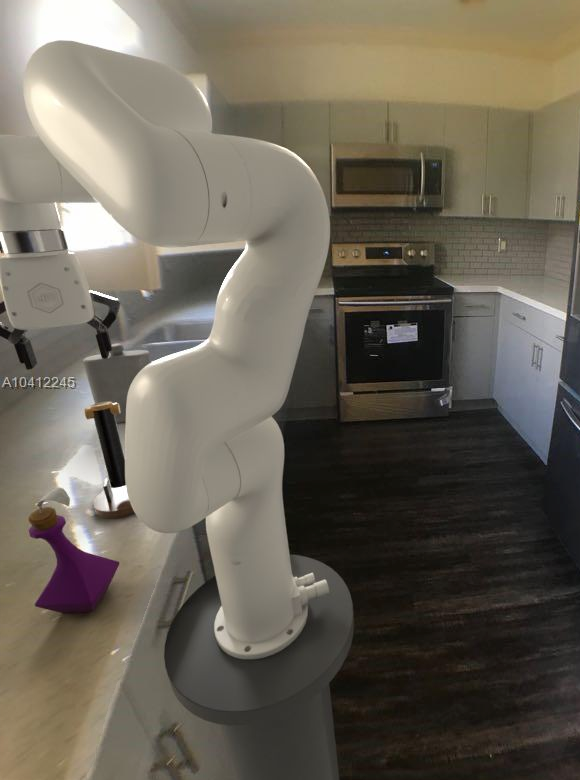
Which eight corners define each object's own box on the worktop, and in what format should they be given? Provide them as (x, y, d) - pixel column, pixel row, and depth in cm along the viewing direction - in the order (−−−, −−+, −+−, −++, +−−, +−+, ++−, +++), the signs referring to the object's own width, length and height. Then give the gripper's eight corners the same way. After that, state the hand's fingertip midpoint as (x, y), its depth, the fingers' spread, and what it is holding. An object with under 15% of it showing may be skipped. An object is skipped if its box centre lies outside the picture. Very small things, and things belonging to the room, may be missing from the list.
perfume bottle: (41, 624, 61) (-5, 512, 54) (74, 581, 68) (37, 477, 61) (97, 621, 61) (58, 509, 54) (125, 578, 68) (93, 475, 61)
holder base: (154, 508, 84) (148, 485, 82) (92, 524, 80) (84, 501, 78) (154, 481, 92) (149, 459, 91) (97, 495, 89) (90, 472, 87)
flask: (164, 408, 127) (148, 338, 119) (162, 417, 121) (145, 344, 114) (103, 417, 122) (83, 345, 115) (98, 426, 117) (77, 352, 110)
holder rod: (136, 477, 87) (135, 483, 84) (105, 485, 85) (103, 491, 82) (118, 399, 84) (116, 402, 81) (85, 405, 82) (82, 408, 79)
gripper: (-56, 251, 57) (-8, 379, 63) (102, 241, 64) (131, 358, 70) (-33, 247, 64) (8, 364, 70) (108, 239, 70) (134, 347, 76)
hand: (70, 361), depth 70 cm, fingers open, 9 cm apart
